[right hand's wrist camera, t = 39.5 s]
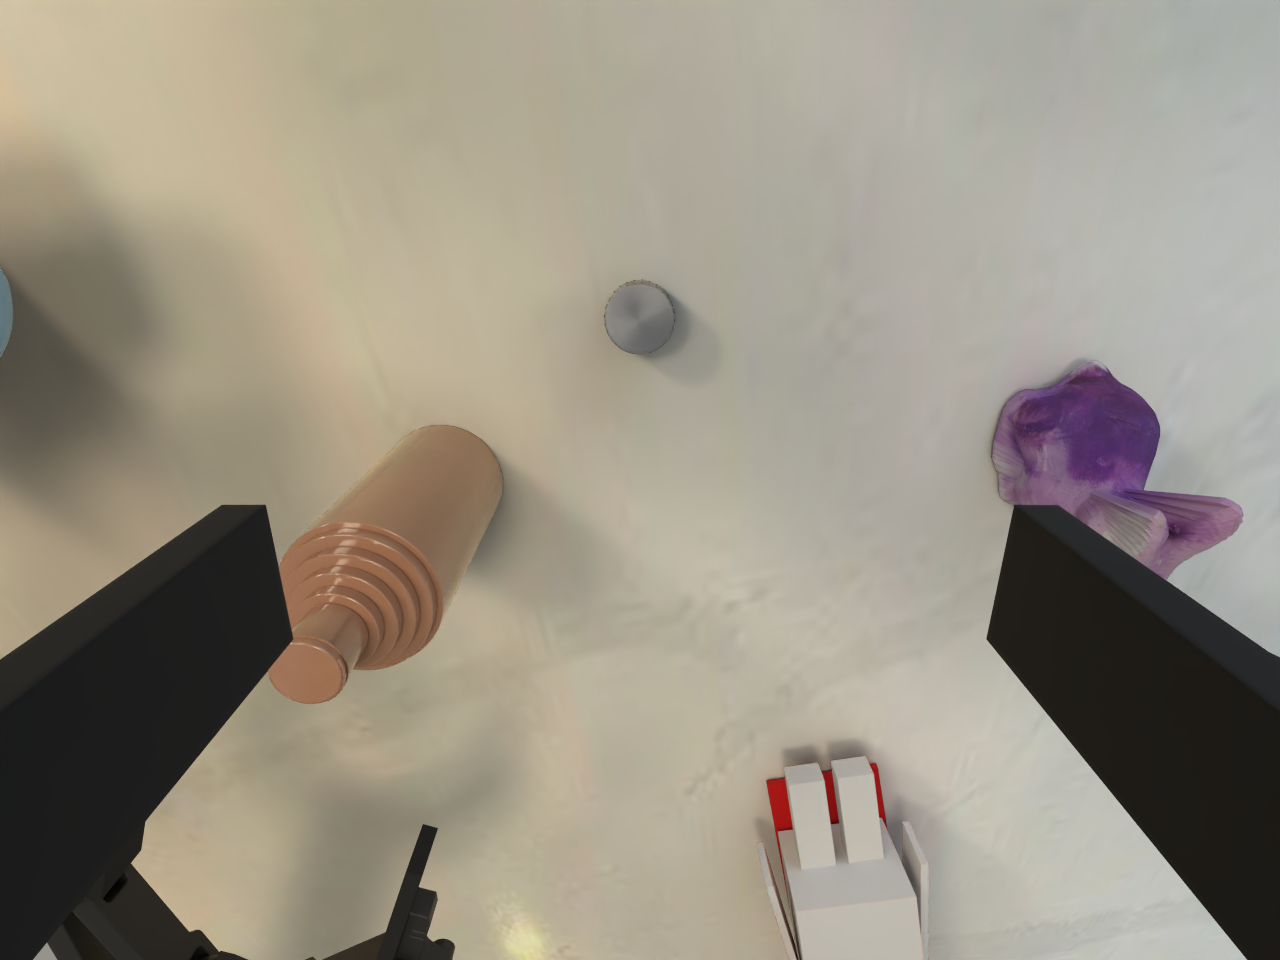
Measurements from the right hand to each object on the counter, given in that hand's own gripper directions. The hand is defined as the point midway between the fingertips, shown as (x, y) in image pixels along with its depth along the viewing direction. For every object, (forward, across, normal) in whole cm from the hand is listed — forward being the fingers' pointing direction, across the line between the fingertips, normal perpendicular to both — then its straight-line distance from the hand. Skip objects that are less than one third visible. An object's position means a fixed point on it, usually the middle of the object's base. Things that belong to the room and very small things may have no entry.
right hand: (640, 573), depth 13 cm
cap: (+33, 0, 0) cm, 33 cm away
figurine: (+35, +28, -9) cm, 45 cm away
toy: (+35, +17, -48) cm, 62 cm away
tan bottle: (+35, -14, -11) cm, 39 cm away
